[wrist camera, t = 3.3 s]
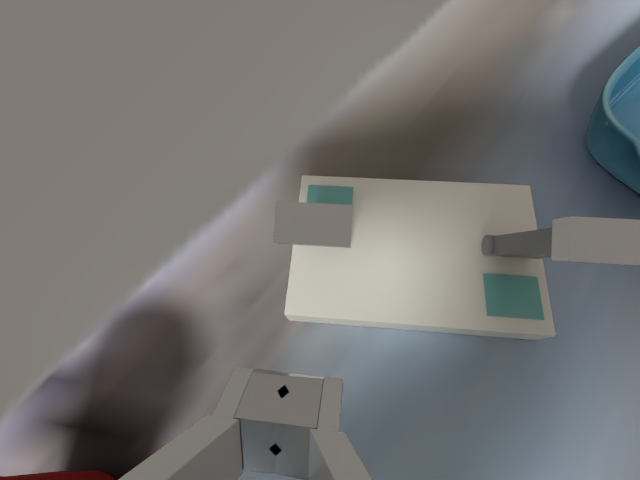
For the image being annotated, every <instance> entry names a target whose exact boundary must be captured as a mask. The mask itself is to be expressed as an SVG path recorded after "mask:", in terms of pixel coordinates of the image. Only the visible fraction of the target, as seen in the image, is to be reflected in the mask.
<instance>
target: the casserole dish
mask: <svg viewBox="0 0 640 480" xmlns="http://www.w3.org/2000/svg"><path fill="white" fill-rule="evenodd" d="M587 145H588V148H589V151H590V153H591V154H592V156H593V157H594V159H595V160H596V161H597V162H598V163H599V164H600V165H601V166H602V167H603V168H604V169H605V170H607V171H608V172H609V173H611V174H612V175H613V176H614V177H616V178H617V179H619V180H620V181H621V182H623V183H624V184H626V185H627V186H628V187H630V188H631V189H633V190H634V191H636V192H637V193H639V194H640V45H639V46H638V47H637V48H636V49H635V50H634V51H633V52H632V53H631V54H630V55H629V56H628V57H627V58H626V59H624V61H623V62H622V63H621V64H620V65H619V66H618V67H617V68H616V69H615V70H614V72H613V73H612V74H611V76H610V77H609V79H608V80H607V82H606V84H605V86H604V88H603V91H602V94H601V96H600V98H599V100H598V102H597V104H596V106H595V108H594V111H593V113H592V116H591V118H590V121H589V125H588V129H587Z"/></svg>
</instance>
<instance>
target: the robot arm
mask: <svg viewBox="0 0 640 480" xmlns="http://www.w3.org/2000/svg"><path fill="white" fill-rule="evenodd" d="M342 387H343V380H342V379H338V378H329V377H319V376H310V375H300V374H291V373H289V374H288V373H281V372H274V371H267V370H260V369H251V368H244V367H236V368H235V370H234V371H233V373H232V375H231V377H230V379H229V381H228V383H227V385H226V387H225V389H224V391H223V394H222V396H221V398H220V400H219V402H218V404H217V406H216V408H215V410H214V412H213V415H206V416H204V417H203V418H202V419H200V420H199V421H198V422H196V423H195V424H194V425H192V426H191V427H189V428H188V429H187V430H185V431H184V432H183V433H181V434H180V435H178V436H177V437H176V438H174V439H173V440H172V441H170V442H169V443H168V444H166V445H165V446H163V447H162V448H161V449H159V450H158V451H157V452H155V453H154V454H153V455H151V456H150V457H148V458H147V459H146V460H144V461H143V462H142V463H140V464H139V465H137V466H136V467H135V468H133V469H132V470H131V471H129V472H128V473H127V474H125V475H124V476H122V477H121V478H120V479H118V480H237V479H238V478H239V476H240V475H241V474H242V473H243V470H244V471H253V472H262V473H271V474H278V475H284V476H290V477H295V478H301V479H307V480H372V478H371V476H370V475H369V473H368V471H367V470H366V468H365V466H364V464H363V463H362V461H361V459H360V458H359V456H358V454H357V452H356V451H355V449H354V447H353V446H352V444H351V442H350V440H349V439H348V437H347V435H346V433H341V432H340V418H341V403H342Z"/></svg>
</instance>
